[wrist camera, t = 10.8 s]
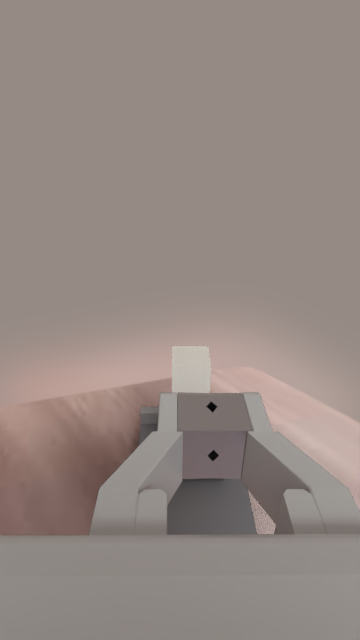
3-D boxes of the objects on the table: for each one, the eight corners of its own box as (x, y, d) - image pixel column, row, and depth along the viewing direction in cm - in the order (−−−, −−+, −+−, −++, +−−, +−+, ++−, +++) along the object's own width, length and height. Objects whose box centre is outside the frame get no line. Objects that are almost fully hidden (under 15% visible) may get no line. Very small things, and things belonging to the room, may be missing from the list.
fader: (223, 479, 30) (232, 374, 25) (155, 480, 30) (151, 374, 25) (217, 436, 35) (224, 340, 30) (158, 437, 35) (155, 340, 29)
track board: (314, 860, 15) (329, 845, 14) (90, 863, 15) (80, 848, 14) (231, 430, 38) (233, 406, 37) (142, 430, 38) (141, 406, 37)
